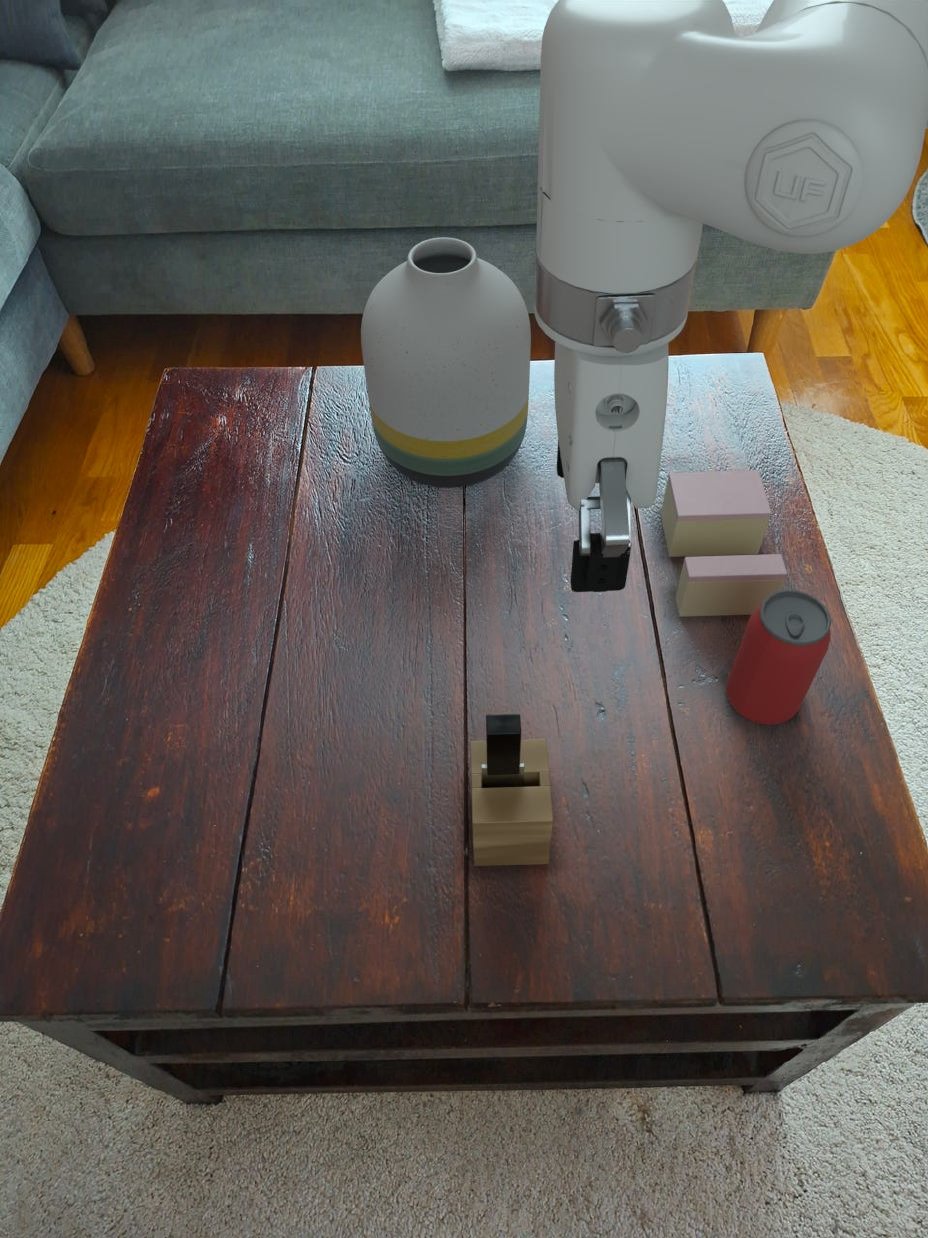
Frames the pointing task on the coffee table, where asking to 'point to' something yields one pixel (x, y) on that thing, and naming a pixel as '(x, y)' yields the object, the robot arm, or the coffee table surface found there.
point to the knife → (503, 752)
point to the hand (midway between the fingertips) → (588, 527)
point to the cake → (714, 513)
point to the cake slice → (728, 584)
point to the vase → (447, 365)
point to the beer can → (779, 656)
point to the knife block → (512, 810)
